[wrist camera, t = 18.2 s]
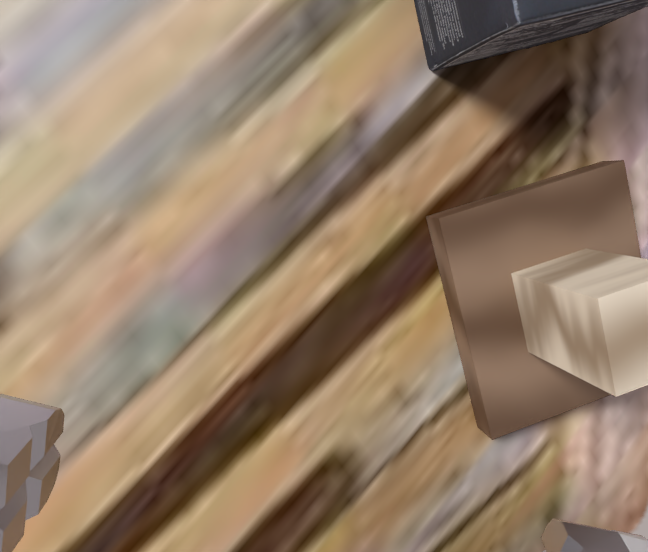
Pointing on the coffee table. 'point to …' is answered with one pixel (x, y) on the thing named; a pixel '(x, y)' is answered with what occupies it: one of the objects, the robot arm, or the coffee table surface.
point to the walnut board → (498, 289)
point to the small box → (507, 25)
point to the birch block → (588, 317)
